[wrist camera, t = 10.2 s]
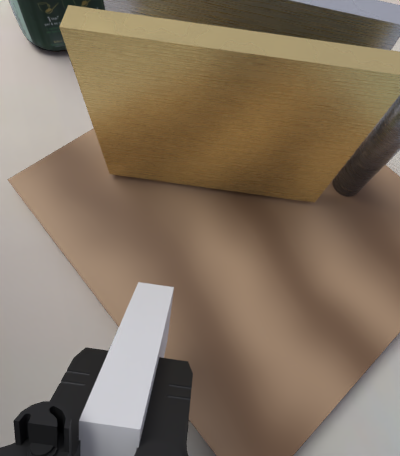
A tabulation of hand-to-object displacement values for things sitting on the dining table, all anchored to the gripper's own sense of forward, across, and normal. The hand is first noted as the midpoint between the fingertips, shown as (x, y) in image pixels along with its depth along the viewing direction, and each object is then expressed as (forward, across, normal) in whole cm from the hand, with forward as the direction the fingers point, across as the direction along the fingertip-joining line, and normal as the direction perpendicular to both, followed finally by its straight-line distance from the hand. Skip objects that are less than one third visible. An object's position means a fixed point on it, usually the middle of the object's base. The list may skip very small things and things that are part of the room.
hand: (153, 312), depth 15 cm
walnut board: (+9, +4, +2) cm, 10 cm away
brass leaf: (+9, +2, +4) cm, 10 cm away
